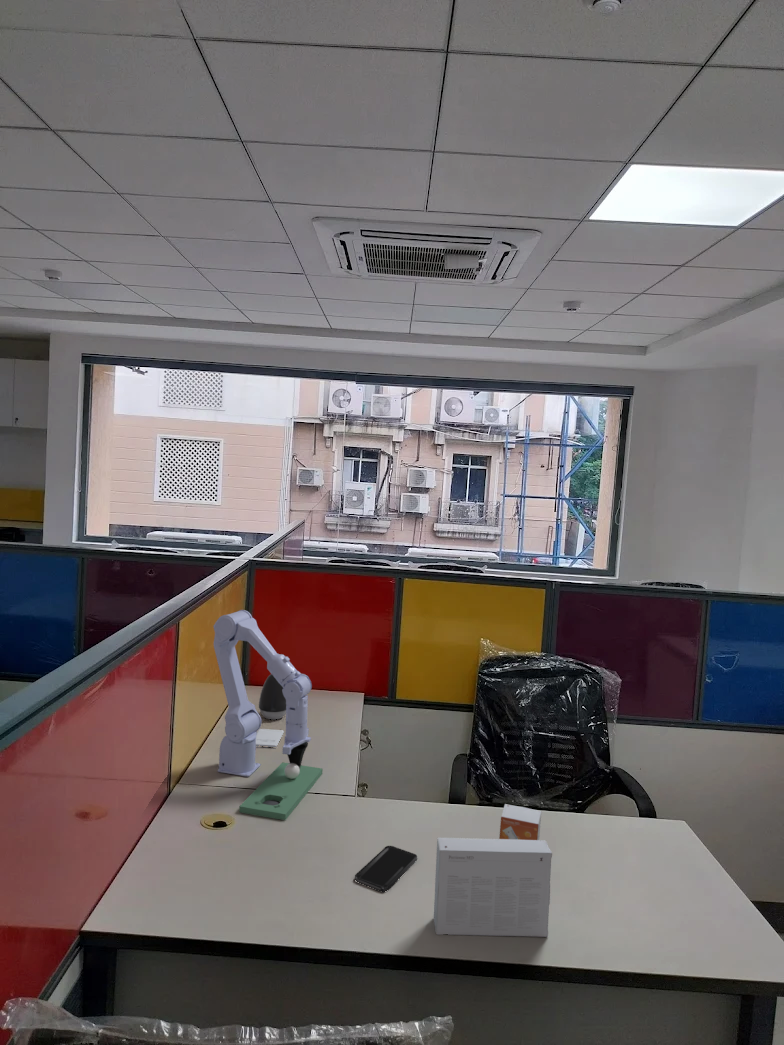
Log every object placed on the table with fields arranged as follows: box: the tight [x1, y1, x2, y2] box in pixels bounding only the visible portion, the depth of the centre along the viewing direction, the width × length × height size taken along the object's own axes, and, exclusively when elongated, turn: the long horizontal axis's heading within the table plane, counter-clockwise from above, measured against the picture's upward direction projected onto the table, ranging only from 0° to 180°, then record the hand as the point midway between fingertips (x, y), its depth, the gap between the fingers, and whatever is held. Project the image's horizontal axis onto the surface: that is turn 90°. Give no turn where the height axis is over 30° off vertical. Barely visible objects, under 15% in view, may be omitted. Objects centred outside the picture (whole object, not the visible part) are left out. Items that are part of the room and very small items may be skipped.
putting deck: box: [238, 762, 324, 821], centre depth 175 cm, size 12×27×2 cm, turn 167°
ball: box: [285, 762, 300, 779], centre depth 179 cm, size 4×4×4 cm
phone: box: [354, 845, 418, 893], centre depth 142 cm, size 8×1×15 cm
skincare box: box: [433, 837, 553, 938], centre depth 125 cm, size 21×6×16 cm, turn 92°
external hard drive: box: [256, 728, 285, 748], centre depth 208 cm, size 2×8×12 cm
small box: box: [498, 803, 542, 840], centre depth 144 cm, size 8×6×13 cm
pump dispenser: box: [258, 673, 286, 721], centre depth 228 cm, size 10×10×15 cm
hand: (295, 770), depth 181 cm, fingers closed, pressing on ball
